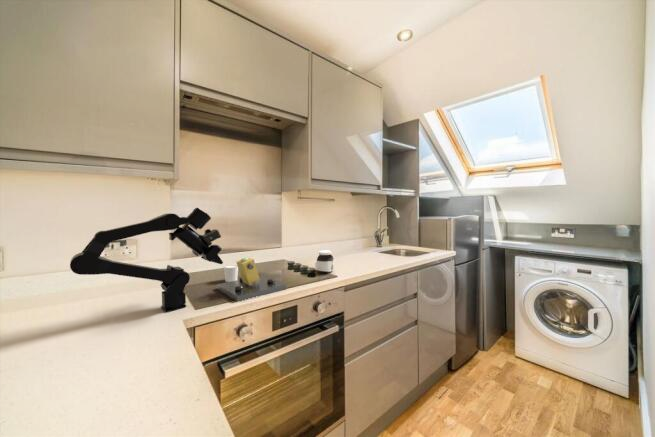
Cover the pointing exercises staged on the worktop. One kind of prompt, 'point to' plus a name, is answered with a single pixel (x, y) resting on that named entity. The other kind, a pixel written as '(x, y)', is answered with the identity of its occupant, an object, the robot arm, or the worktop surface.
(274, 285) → the tribrach plate
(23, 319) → the worktop surface
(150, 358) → the worktop surface
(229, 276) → the white cup
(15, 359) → the worktop surface
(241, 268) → the yellow rectangular block
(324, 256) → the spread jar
